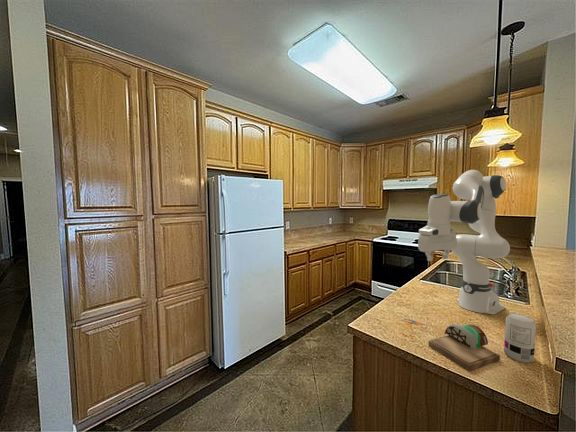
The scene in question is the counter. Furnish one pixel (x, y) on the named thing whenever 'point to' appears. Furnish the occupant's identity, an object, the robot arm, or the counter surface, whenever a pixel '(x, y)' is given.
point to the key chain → (415, 323)
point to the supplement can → (520, 337)
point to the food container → (467, 335)
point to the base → (464, 353)
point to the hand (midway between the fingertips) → (437, 259)
